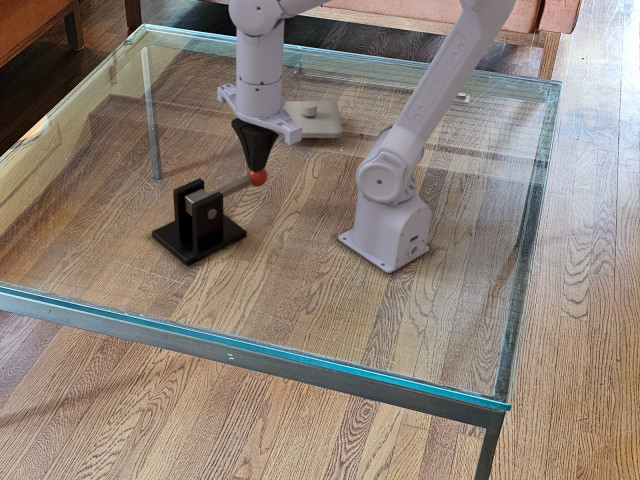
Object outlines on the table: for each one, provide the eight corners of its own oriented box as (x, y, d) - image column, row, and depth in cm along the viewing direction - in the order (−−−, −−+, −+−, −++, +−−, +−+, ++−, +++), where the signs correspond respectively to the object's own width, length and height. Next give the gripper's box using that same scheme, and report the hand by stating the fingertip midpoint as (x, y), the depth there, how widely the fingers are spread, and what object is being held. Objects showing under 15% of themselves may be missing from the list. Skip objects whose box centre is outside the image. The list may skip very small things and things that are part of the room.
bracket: (210, 209, 118) (209, 165, 113) (246, 237, 113) (247, 192, 108) (151, 237, 113) (148, 192, 108) (187, 266, 108) (185, 221, 103)
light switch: (342, 148, 130) (345, 119, 126) (278, 148, 130) (279, 119, 126) (335, 116, 137) (338, 88, 134) (275, 116, 137) (276, 88, 134)
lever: (258, 176, 116) (258, 159, 114) (271, 185, 115) (271, 168, 113) (183, 211, 110) (182, 193, 108) (196, 221, 109) (195, 203, 107)
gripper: (323, 86, 102) (315, 180, 111) (246, 45, 110) (245, 135, 119) (279, 104, 98) (275, 200, 107) (204, 60, 107) (206, 152, 116)
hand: (256, 167), depth 113 cm, fingers closed, pressing on lever
